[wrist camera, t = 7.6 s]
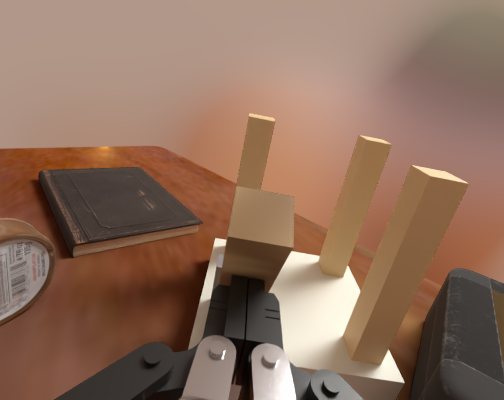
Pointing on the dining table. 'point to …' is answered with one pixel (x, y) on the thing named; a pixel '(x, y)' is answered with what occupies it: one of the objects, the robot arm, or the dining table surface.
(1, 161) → the dining table surface
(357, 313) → the stool
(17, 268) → the tin
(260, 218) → the leg
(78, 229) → the hardcover book
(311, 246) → the dining table surface
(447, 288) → the cash box
